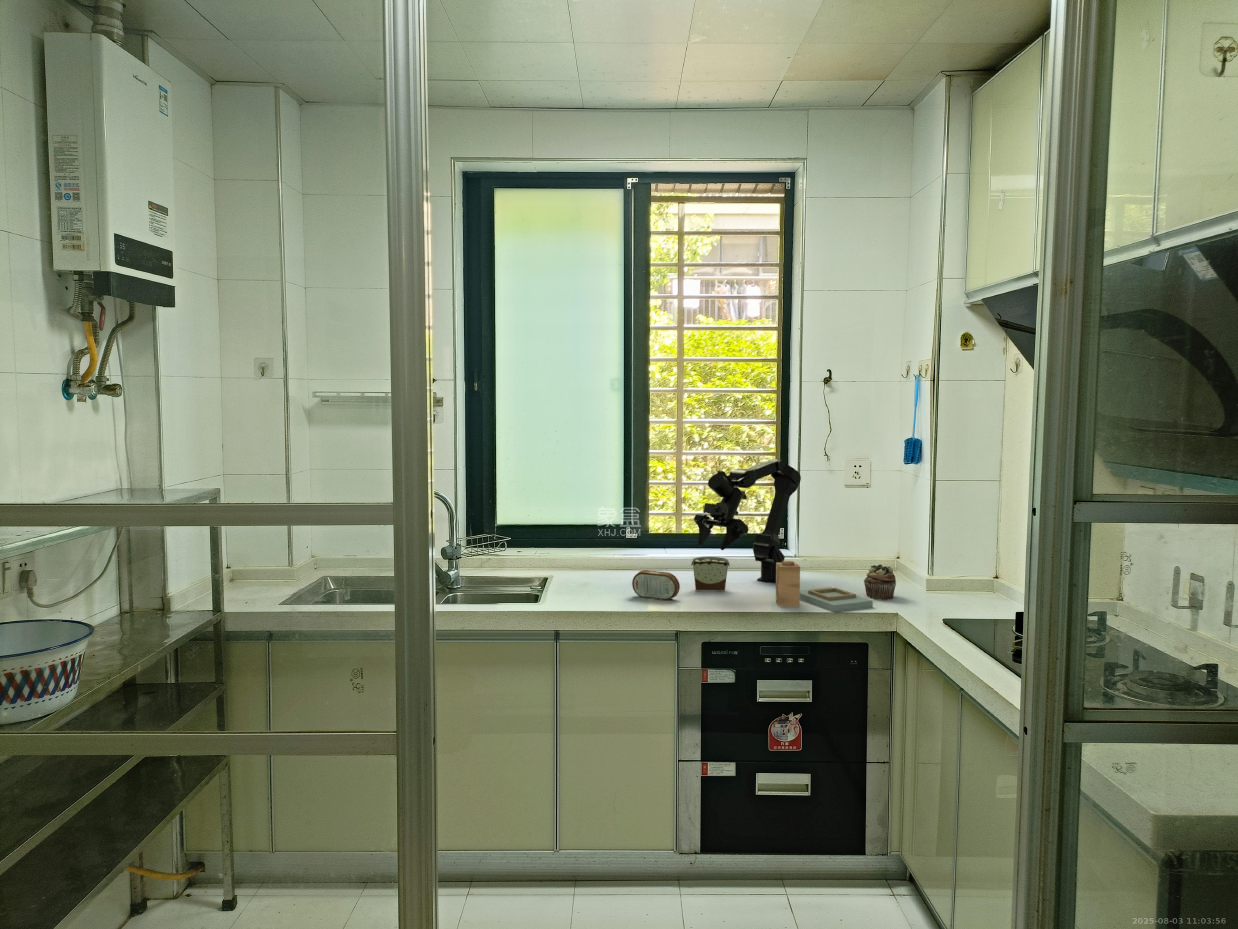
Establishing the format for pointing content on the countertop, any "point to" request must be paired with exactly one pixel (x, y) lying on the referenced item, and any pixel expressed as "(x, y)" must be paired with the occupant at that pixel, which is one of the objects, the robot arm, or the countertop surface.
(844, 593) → the base slab
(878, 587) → the cupcake
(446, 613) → the countertop surface
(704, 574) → the food container
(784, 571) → the terracotta block
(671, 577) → the tin
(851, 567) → the countertop surface
